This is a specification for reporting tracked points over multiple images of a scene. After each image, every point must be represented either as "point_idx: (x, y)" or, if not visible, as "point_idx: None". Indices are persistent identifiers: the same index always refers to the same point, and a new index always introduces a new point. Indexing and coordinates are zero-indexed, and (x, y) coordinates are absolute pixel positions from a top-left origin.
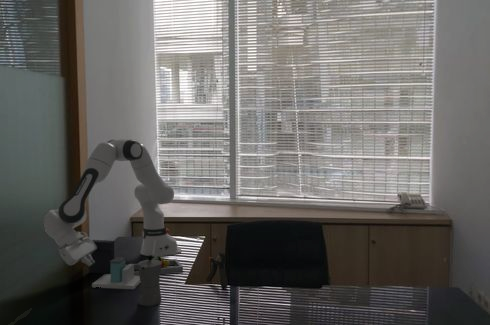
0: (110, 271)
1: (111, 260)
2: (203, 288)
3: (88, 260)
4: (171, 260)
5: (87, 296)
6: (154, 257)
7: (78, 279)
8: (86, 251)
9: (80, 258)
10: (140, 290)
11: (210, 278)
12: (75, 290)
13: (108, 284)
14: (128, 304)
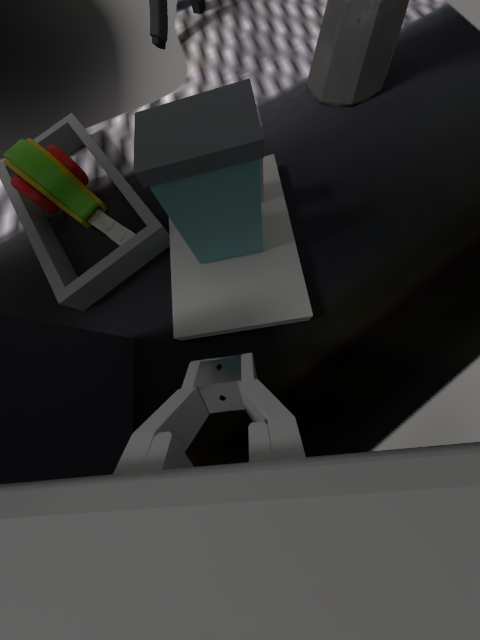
0: (127, 342)
1: (235, 144)
2: (208, 38)
3: (257, 386)
4: (8, 172)
5: (408, 271)
6: (17, 162)
7: (235, 462)
8: (145, 544)
9: (443, 447)
10: (404, 10)
11: (165, 17)
12: (374, 371)
13: (293, 241)
14: (397, 111)
